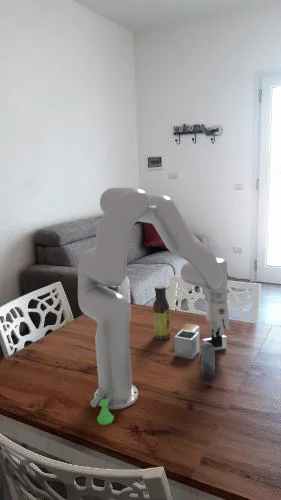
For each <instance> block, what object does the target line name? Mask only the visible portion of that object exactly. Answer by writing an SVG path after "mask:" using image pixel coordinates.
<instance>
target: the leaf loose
mask: <svg viewBox="0 0 281 500" xmlns="http://www.w3.org/2000/svg"><path fill="white" fill-rule="evenodd" d="M227 337H228V336H226V335H225V334H224V336H222V347H216V348H214V349H215V352H217V351H220V350H221V351H222V350H226V349H228V346H227V345H228V344H227ZM205 344H210V345H212V337H208V338H202V345H205Z"/></svg>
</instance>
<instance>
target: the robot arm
mask: <svg viewBox="0 0 281 500" xmlns="http://www.w3.org/2000/svg"><path fill="white" fill-rule="evenodd" d="M99 207H100V209H101V211H102V212H103V215H102V216H101V218H100V220H99V222H98V225H97V228H96V232H95V233H96V234H95V246H94V247H92V248H88V249H86V251H84V252H83V254H82V255H81V256H80V259H79V261H78V266H77V267H78V268H77V300H78V301H77V302H78V307H79V309H80V310H81V312H82V314H84V315H85V316H87V317H88V318H90V319H92V320H93V321H96V323H97V328H96V332H95V339H94V343H95V344H94V345H95V355H96V356H95V357H96V367H97V368H96V369H97V379H98V380H97V382H98V388H97V389H96V391H95V392H94V393H93V394H94V395H93V399H92V400H91V401H90V406H91V407H92V408H96V407H97V406H99V407H100V408H102V406H100V400H103V399H106V400H108V406H107V408H108V410H121V409H125V408H127V407H128V408H129V406H132V405H133V404H135V403H136V402H137V400H138V398H139V391H138V388H137V387H136V386H135V385H133V376H132V375H133V373H132V361H131V360H132V359H131V345H130V343H131V342H130V323H131V316H132V309H131V308H132V306H131V304H130V302H129V300H128V299H127V298H126V296H124V295H123V294H121V293H120V292H117V291H116V290H114V289H110V288H117V287H119V286H121V285H122V284H123V283H124V282H125V280H126V278H127V277H126V276H127V272H128V269H127V267H128V241H129V234H130V232H131V230H132V227H133V226H134V225H135V224H136V222H141V223H146V224H147V223H148V224H151V225H152V226H153V227H154V228H155V230H156V233H157V234H158V236H160V238H161V240H162V242H163V243H164V245H165V247H166V249H168V250H169V251H170V252H171V253H173V254H174V255H176V256H177V257H179V258H181V259H183V260H185V262H186V263H185V264H183V266H182V267H181V269H180V274H179V275H180V278H181V280H183V282H185V283H186V284H188V285H191V286H195V287H199V288H202V289H204V291H203V292H204V301H205V304H206V305H205V316H206V322H207V324H208V325H209V326H210V333H211V336H210V337H211V338H212V345H213V346H214V348H216V347H222V336H224V335H225V330H226V331H229V330H230V317H229V307H228V302H227V301H229V300H228V262H227V260H226V259H224V258H221V257H216V256H215V255H214V253H213V252H212V251H211V250H210V249H209V248H208V247H207V246H206V245H205V244H204V243H203V242H201V241H200V239H199V238H197V237H196V236H195V235H194V234H193V232H192V231H191V230H190V228H189V227H188V224H187V223H186V221H185V219H184V217H183V215H182V213H181V212H180V211H179V209H178V205H177V204H176V203H175V201H174V200H173V199H172V198H171V197H169V196H167V195H163V194H148V193H147V192H146V191H145V190H144V189H143V190H142V189H140V188H137V187H110V188H108V189H106V190H104V191H103V192H102V194H101V196H100V198H99ZM224 329H225V330H224Z"/></svg>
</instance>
